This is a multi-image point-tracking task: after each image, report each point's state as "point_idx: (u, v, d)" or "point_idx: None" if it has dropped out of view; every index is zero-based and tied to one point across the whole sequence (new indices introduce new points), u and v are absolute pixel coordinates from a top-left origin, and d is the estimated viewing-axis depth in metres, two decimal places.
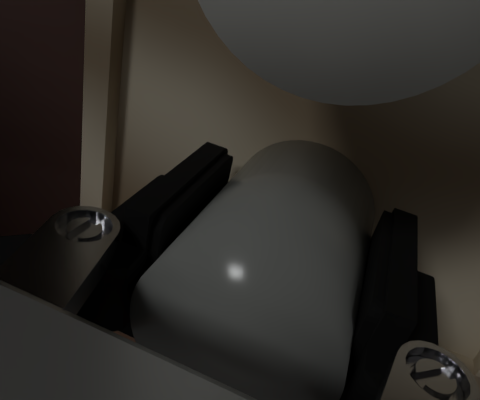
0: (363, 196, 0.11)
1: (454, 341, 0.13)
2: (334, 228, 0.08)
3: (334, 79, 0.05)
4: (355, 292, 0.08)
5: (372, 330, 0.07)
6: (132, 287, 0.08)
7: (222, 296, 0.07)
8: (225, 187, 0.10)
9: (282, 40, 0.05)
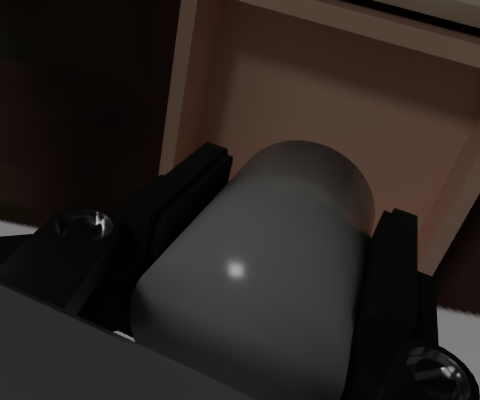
0: (363, 196, 0.11)
1: None
2: (334, 228, 0.08)
3: None
4: (354, 293, 0.08)
5: (372, 330, 0.07)
6: (132, 287, 0.08)
7: (221, 297, 0.07)
8: (225, 187, 0.10)
9: None
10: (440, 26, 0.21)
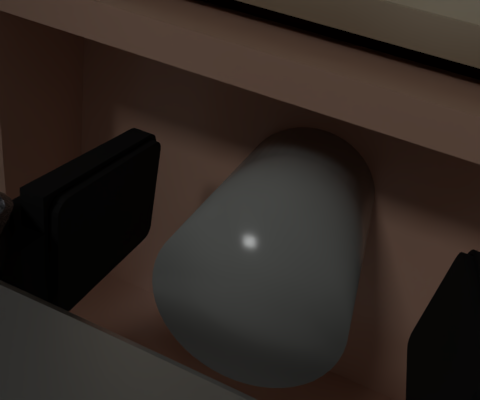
0: (364, 178, 0.11)
1: None
2: (338, 202, 0.09)
3: None
4: (357, 260, 0.09)
5: None
6: (31, 271, 0.08)
7: (237, 260, 0.08)
8: (237, 169, 0.11)
9: None
10: (466, 78, 0.11)
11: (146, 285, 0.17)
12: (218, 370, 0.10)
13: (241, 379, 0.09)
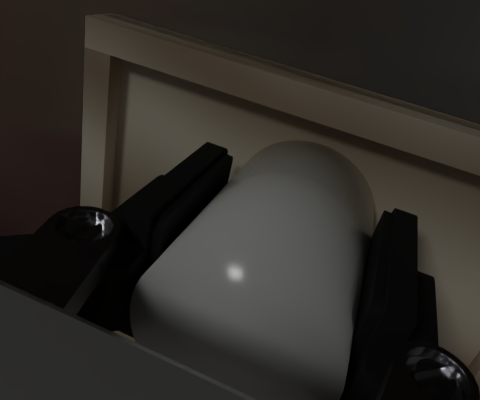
0: None
1: None
2: None
3: None
4: None
5: (372, 330, 0.07)
6: (132, 287, 0.08)
7: None
8: None
9: None
10: None
11: None
12: None
13: None
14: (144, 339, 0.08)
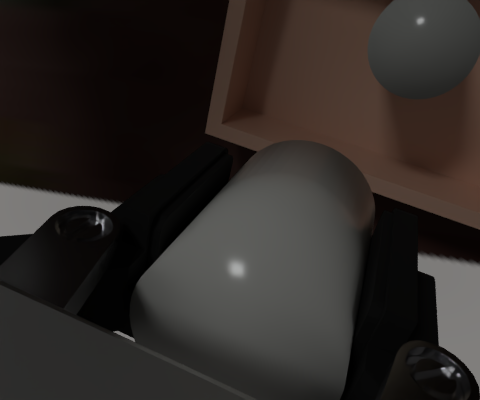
0: None
1: None
2: None
3: None
4: None
5: (372, 330, 0.07)
6: (132, 287, 0.08)
7: (425, 13, 0.16)
8: None
9: None
10: None
11: (293, 120, 0.25)
12: (398, 93, 0.18)
13: (412, 97, 0.17)
14: (144, 339, 0.08)
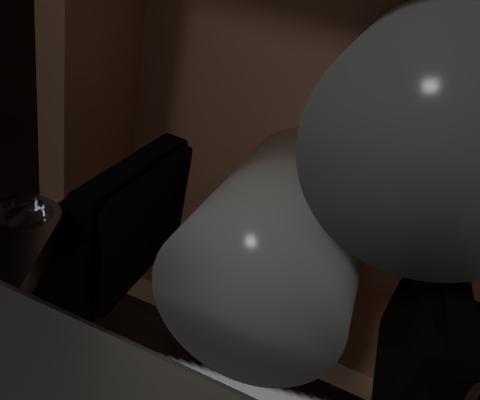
0: None
1: None
2: None
3: (239, 372, 0.09)
4: None
5: (432, 368, 0.07)
6: (77, 276, 0.08)
7: (446, 77, 0.06)
8: (375, 21, 0.08)
9: (210, 350, 0.09)
10: None
11: None
12: (376, 263, 0.07)
13: (409, 274, 0.07)
14: (164, 303, 0.09)
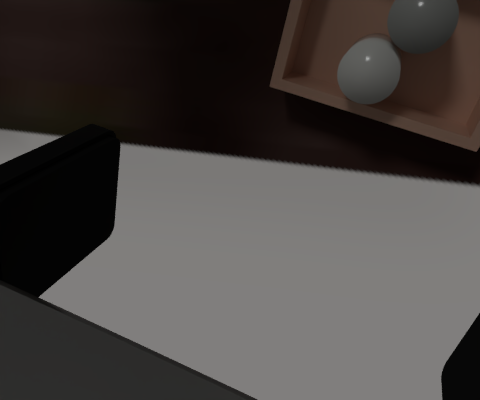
0: None
1: None
2: None
3: (362, 99, 0.30)
4: None
5: None
6: None
7: None
8: None
9: (354, 92, 0.30)
10: None
11: (330, 79, 0.35)
12: (407, 50, 0.28)
13: (415, 52, 0.28)
14: (340, 77, 0.30)
